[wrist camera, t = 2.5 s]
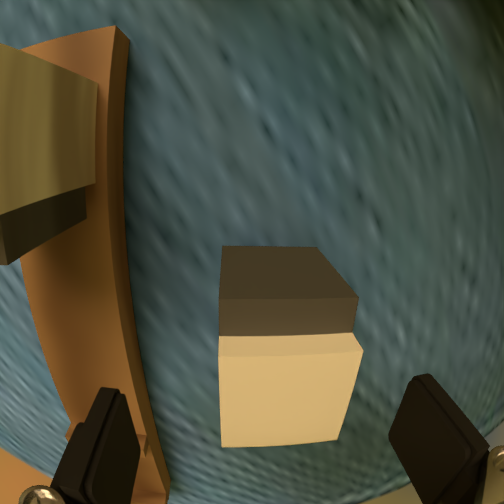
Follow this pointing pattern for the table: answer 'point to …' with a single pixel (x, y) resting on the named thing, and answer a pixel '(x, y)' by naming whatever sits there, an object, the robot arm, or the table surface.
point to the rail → (75, 225)
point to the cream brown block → (284, 346)
